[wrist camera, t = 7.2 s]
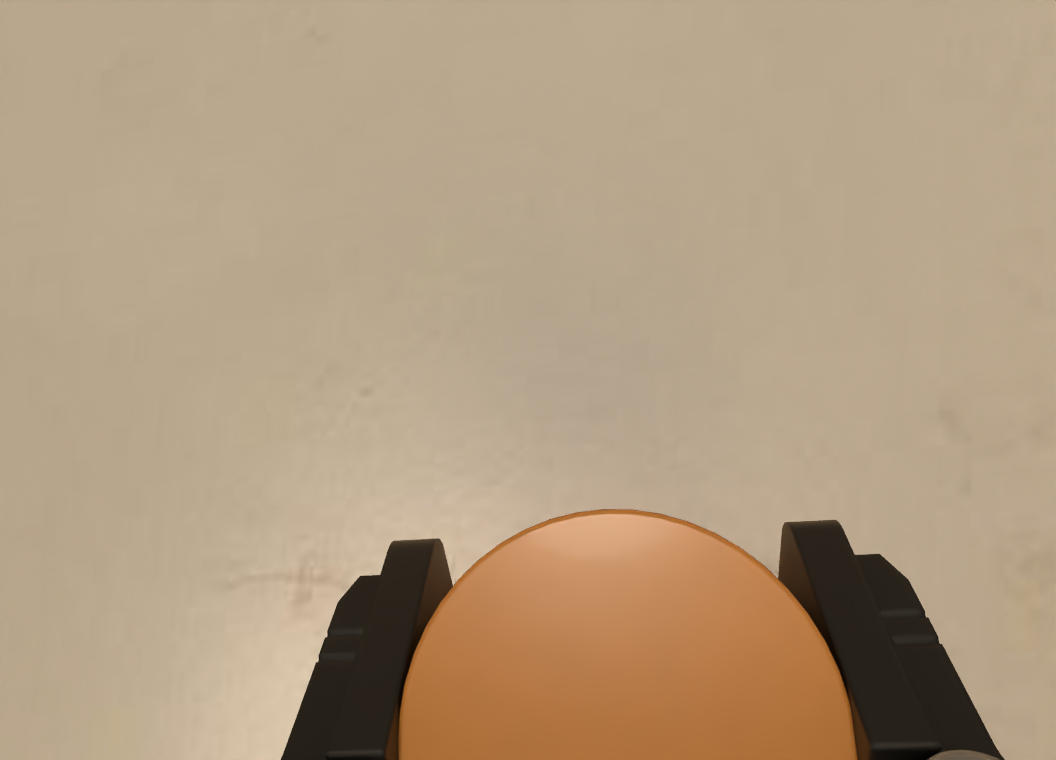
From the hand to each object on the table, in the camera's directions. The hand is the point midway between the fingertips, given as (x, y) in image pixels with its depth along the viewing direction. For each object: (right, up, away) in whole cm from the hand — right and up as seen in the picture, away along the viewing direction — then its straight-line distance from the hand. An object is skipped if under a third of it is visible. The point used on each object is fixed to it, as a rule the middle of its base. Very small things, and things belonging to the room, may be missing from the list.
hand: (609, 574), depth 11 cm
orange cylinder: (+1, -3, +4) cm, 5 cm away
